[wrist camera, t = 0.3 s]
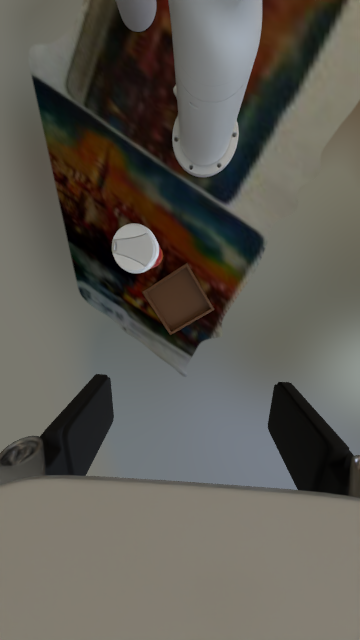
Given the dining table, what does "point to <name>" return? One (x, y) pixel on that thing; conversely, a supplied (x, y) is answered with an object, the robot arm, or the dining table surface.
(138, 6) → the coffee cup
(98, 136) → the dining table surface
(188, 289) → the tray
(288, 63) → the dining table surface
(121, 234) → the paper cup
